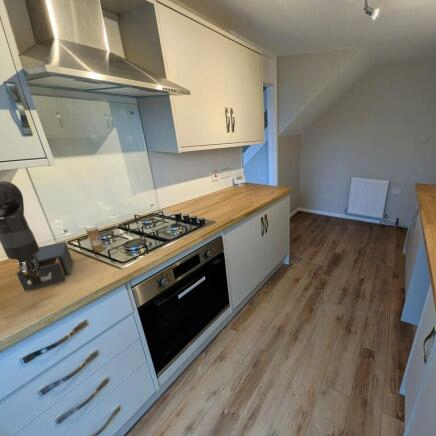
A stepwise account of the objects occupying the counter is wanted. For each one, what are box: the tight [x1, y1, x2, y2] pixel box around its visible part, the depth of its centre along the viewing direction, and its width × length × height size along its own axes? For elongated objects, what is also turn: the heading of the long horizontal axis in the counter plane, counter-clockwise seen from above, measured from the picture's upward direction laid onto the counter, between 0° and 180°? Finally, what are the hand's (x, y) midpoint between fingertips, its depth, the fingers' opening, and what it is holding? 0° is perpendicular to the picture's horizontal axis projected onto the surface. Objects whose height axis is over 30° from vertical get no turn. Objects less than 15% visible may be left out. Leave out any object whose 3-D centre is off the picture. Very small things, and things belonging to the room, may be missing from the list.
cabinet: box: [17, 241, 73, 277], centre depth 100 cm, size 15×13×10 cm
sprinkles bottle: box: [84, 224, 104, 253], centre depth 118 cm, size 5×5×13 cm
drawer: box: [16, 257, 67, 292], centre depth 94 cm, size 18×11×8 cm, turn 37°
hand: (38, 284), depth 85 cm, fingers closed
